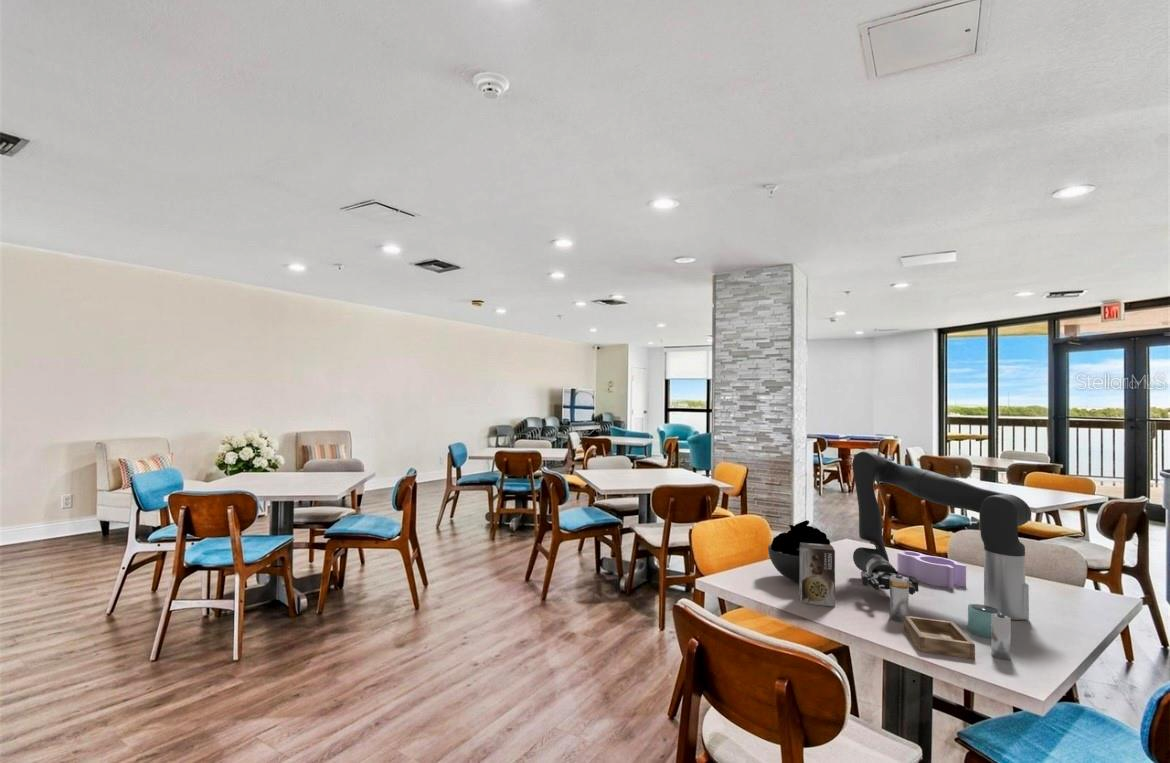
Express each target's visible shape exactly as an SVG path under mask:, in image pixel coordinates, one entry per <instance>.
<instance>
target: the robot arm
mask: <svg viewBox="0 0 1170 763" xmlns="http://www.w3.org/2000/svg"><path fill="white" fill-rule="evenodd" d="M851 464H852V466H851V467H852V473H853V474H852V475H853V478H854V484H855V490H856V491H855V492H856V499H857V504H858V536H859V538H860V539H861V540H863V541H866V542H869V543H872V544H873V545H874V547H875V548H872V547H871V548H870V547H863V546H862V547H860V546H859V547H857V548H856V549H855V550H854V551H853V554H852V560H853V563H854V564H855V566H856V568H858V569H859V570H860V571H861V572H860V582H861V583H862V584H861V585H863V586H865V587H868V585H869V587H871V588H872V589H874V590H875V591H880V589H882V590H888V591H889V590H890V576H891V575H899V572H898V571H897V569H896V568H895V567H894V566H893V565H892V564H891V563H890V560H889V559H890V558H889V556H888V552H887V550H886V545H885V542H884V538H883V518H882V511H881V509H880V506H879V503H878V501H877V497H876V493H875V486H874V485H875V482H879V483H884V484H889V485H893V486H895V487H898V488H901V489H902V490H904V491H906V492H907V493H910V494H912V495H914V496H915V497H917V498H920V499H921V500H922V499H923V500H925V501H928V502H931V503H935V504H938V505H941V506H946V507H952V508H957V509H965V510H970V511H973V512H976V513H978V514H979V528H980V538H981V541H982V543H983V564H984V565H983V605H986V606H990V607H994V608H996V609H999V610H1000V611H1001V612H1002V614H1004V615H1005V616H1008V617H1010V618H1011V620H1015V621H1021V620H1030V602H1029V601H1030V598H1029V597H1030V594H1029V593H1030V592H1029V591H1030V589H1029V588H1030V587H1029V584H1028V583H1027V582H1026V546H1025V545H1024V544H1023V543H1022V542H1021V541H1020V539H1019V528H1018V527H1021V526H1023V525H1026V524H1027V523H1028V522H1029V521H1030V519H1031V517H1032V510H1031V508H1030V506H1029V505H1028V503H1027V502H1025V500H1024V499H1022V498H1020V497H1019V496H1017V495H1014V494H1010V493H1009V494H1008V493H1004V492H1000V491H995V490H990V489H986V488H982V487H977V486H975V485H972V484H970V483H968V482H964V481H962V480H958V479H955V478H952V477H950V476H947V475H944V474H942V473H938V472H935V471H932V470H928V469H923V468H917V467H913V466H912V467H909V466H905V465H902V464H900V463H897V462H894V461H892V460H889V459H888V458H885V457H883V456H881V455H878V454H876V453H873V452H869V451H860V452H857V454H855V456H854V457H853V459H852V463H851ZM907 578H908V579H909V595H910V596H911V595H914V594H915V593H916V592H917V593H919V591H920V590H919V585H920V584H919V581H918V580H917V579H916V578H914V577H912V576H908V577H907Z"/></svg>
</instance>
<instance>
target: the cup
mask: <svg viewBox="0 0 1170 763" xmlns="http://www.w3.org/2000/svg"><path fill="white" fill-rule="evenodd" d="M997 613H1002V612H1001V611H1000V610H999V609H996V608H994V607H990V606H986V605H984V604H980V603H970V604H968V605H967V630H968V632H970V633H971V634H974V635H976V636H979V637H983V638H988V639H991V614H997Z"/></svg>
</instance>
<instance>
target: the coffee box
mask: <svg viewBox="0 0 1170 763" xmlns="http://www.w3.org/2000/svg"><path fill="white" fill-rule="evenodd" d="M835 557H836V550H835V549H834V546H833V545H832V544H830V545H826V544H814V543H801V542H800V575H799V582H798V583H799V588H798V590H799V594H798V596H799V599H800V603H801V604H807V605H814V606H815V605H816V606H824V607H835V608H836V558H835Z"/></svg>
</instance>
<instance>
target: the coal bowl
mask: <svg viewBox="0 0 1170 763" xmlns="http://www.w3.org/2000/svg"><path fill="white" fill-rule="evenodd" d="M810 523H811V522H810V521H809V520H808V519H806V520H802V522H798V523H795V524H789V525H788V526H789V528H790V530H788V531H787V532H781V533H779V534H777V535H776V536H775V537H773V539H772V541H771V544H769V545H768V546H767V551H768V556H769V559H770V561H771V563H772V565H773V566H774V568H775V569H776V570H777V571H778V572H779V573H780V575H782V576H783V577H785V578H786V579H788V580H790V581H793V582H796V583H799V575H800V542H801V543H814V544H826V545H831V540H830V539H829V538H828V536H827V533H824V532H823V531H821V530H820V529H819V528H817V527H814V526H810V525H809V524H810Z"/></svg>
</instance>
